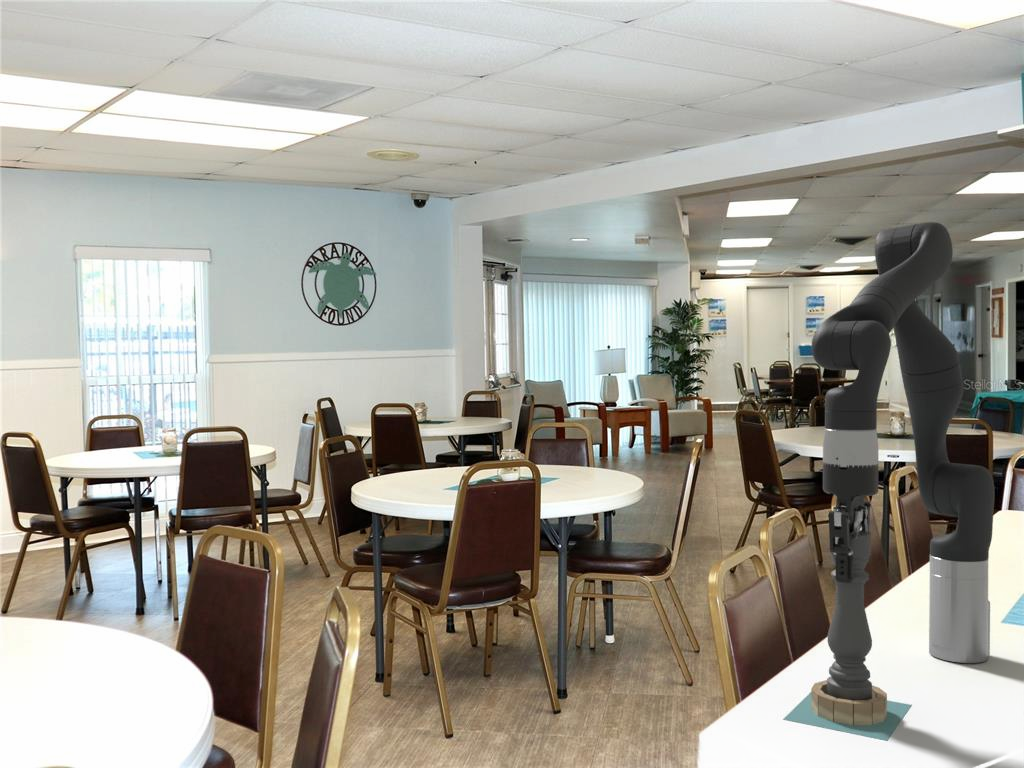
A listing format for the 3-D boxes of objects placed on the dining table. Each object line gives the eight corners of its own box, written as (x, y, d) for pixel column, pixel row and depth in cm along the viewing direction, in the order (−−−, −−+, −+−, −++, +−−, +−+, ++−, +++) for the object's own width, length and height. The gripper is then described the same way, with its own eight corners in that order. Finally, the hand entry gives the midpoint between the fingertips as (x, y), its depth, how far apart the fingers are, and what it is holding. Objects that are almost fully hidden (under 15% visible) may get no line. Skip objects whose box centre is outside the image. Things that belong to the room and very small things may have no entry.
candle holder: (843, 714, 135) (844, 537, 134) (818, 699, 141) (818, 529, 140) (881, 710, 137) (882, 534, 136) (854, 695, 143) (855, 527, 142)
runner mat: (815, 689, 149) (815, 687, 149) (911, 707, 141) (911, 704, 141) (783, 722, 136) (783, 719, 136) (887, 743, 128) (887, 740, 128)
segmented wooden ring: (842, 695, 145) (842, 675, 145) (900, 715, 137) (901, 694, 137) (797, 708, 140) (797, 687, 140) (855, 730, 132) (855, 708, 132)
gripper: (837, 454, 146) (836, 565, 146) (809, 463, 134) (808, 584, 134) (889, 457, 142) (888, 571, 142) (865, 466, 130) (864, 591, 130)
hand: (849, 577), depth 138 cm, fingers closed on candle holder, 5 cm apart
